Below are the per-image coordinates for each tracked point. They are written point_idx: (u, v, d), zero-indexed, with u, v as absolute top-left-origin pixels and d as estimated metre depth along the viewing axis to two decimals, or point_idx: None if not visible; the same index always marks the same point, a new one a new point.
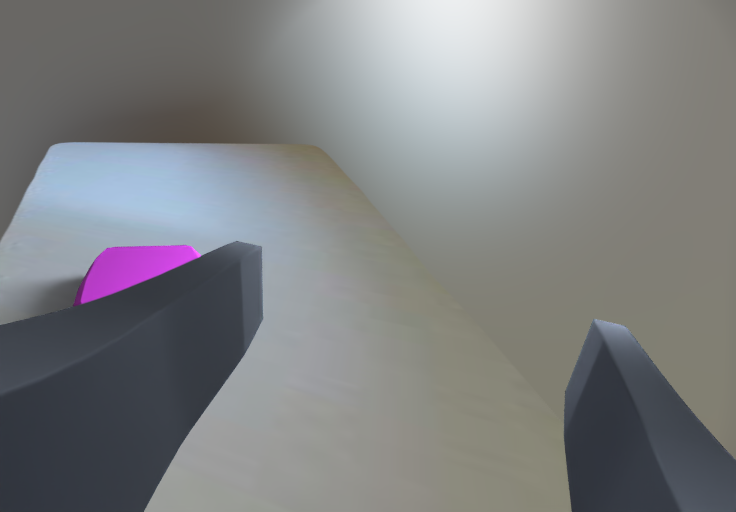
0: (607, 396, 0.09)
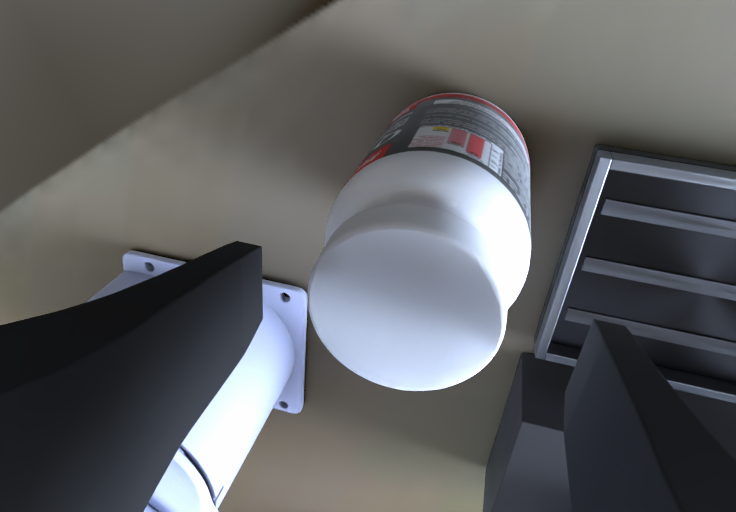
0: (607, 396, 0.09)
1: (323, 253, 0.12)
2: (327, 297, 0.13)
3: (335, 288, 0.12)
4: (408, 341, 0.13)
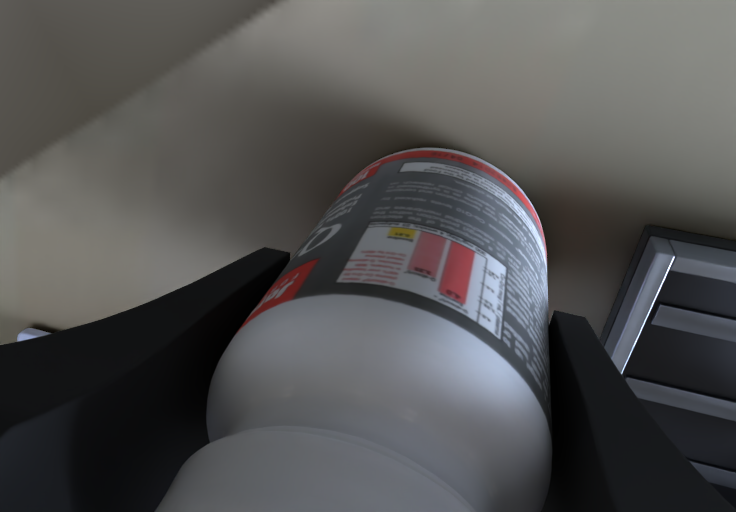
0: (561, 385, 0.09)
1: None
2: None
3: None
4: None
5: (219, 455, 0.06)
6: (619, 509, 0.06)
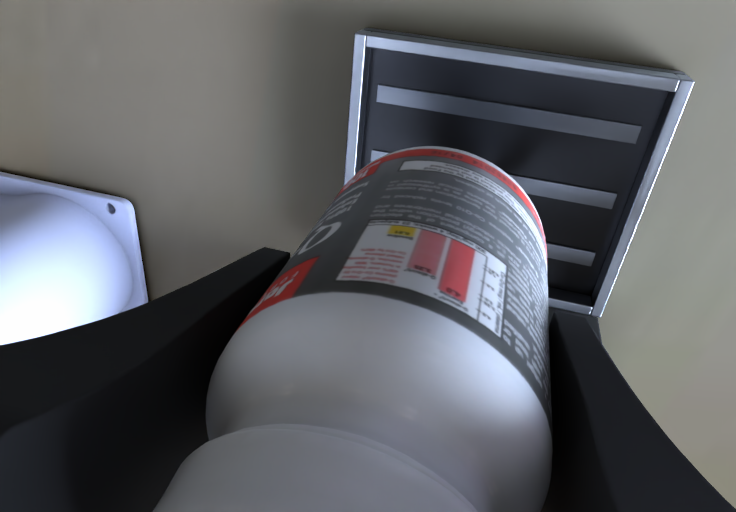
0: (561, 385, 0.09)
1: None
2: None
3: None
4: None
5: (218, 453, 0.06)
6: (619, 509, 0.06)
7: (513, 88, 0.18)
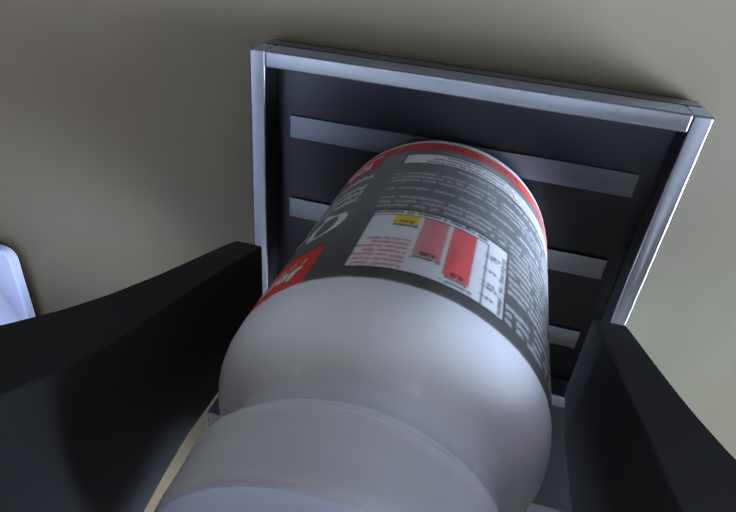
0: (607, 396, 0.09)
1: (163, 500, 0.06)
2: None
3: None
4: None
5: (235, 425, 0.07)
6: None
7: (466, 122, 0.13)
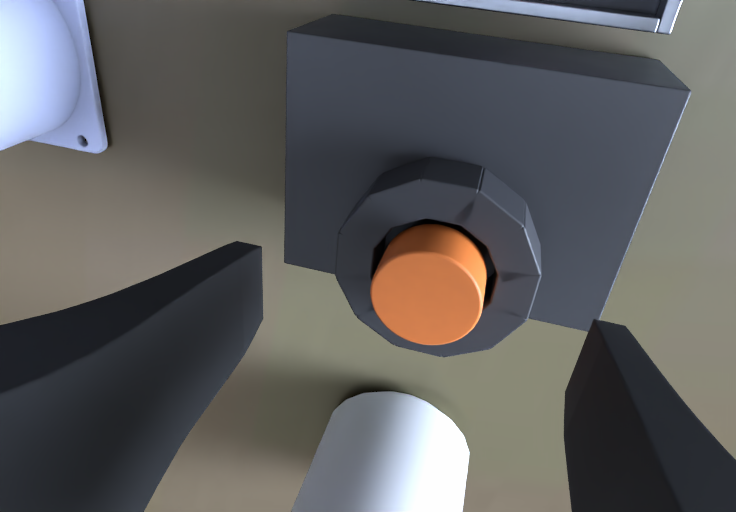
0: (607, 396, 0.09)
1: None
2: None
3: None
4: None
5: None
6: None
7: None
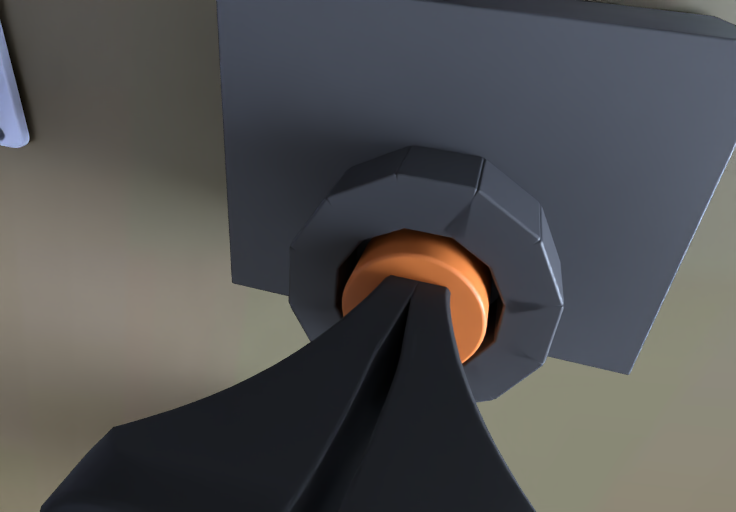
0: None
1: None
2: None
3: None
4: None
5: None
6: (372, 441, 0.06)
7: None
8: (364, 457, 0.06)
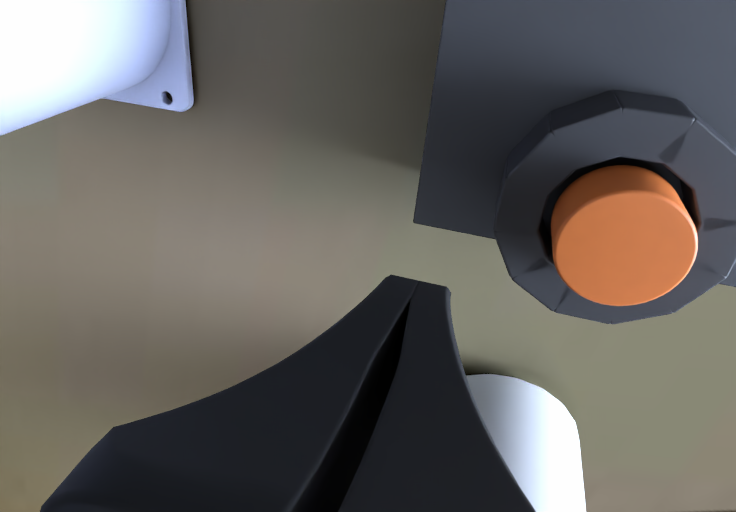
0: None
1: None
2: None
3: None
4: None
5: None
6: (372, 441, 0.06)
7: None
8: (364, 457, 0.06)
